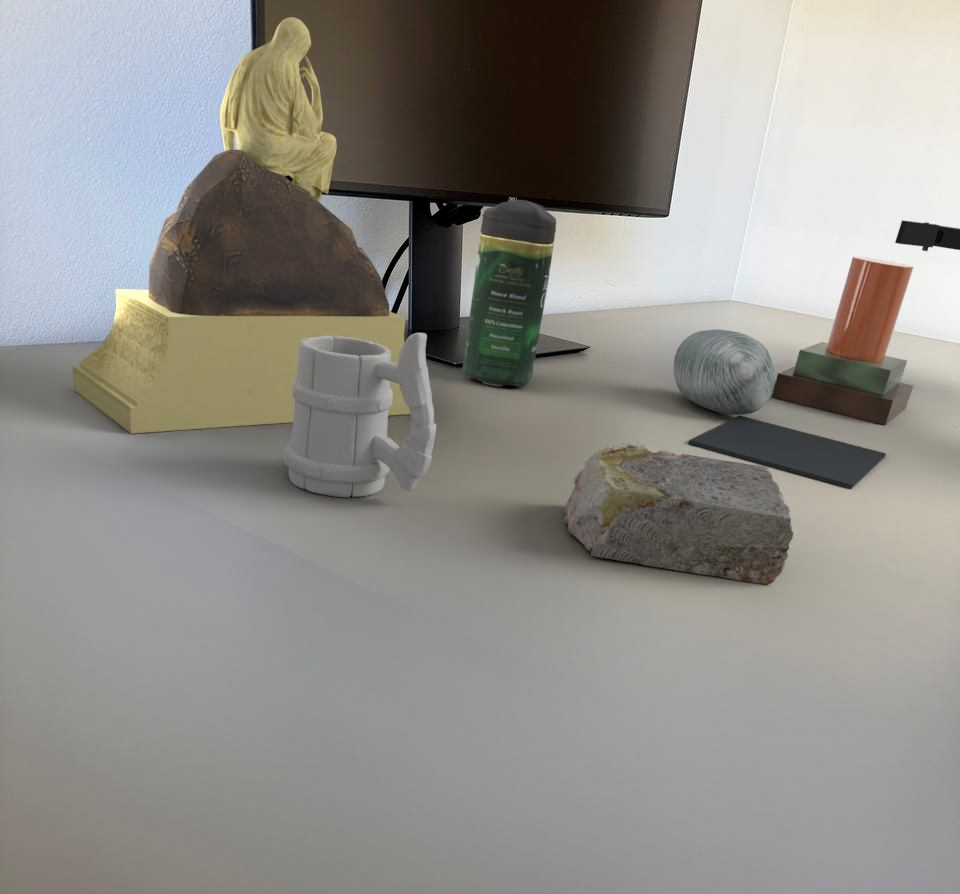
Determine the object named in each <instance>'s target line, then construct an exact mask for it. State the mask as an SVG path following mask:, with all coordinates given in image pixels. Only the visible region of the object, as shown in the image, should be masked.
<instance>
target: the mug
mask: <svg viewBox="0 0 960 894" xmlns="http://www.w3.org/2000/svg"><path fill="white" fill-rule="evenodd" d="M427 338H428V335H427V333H425V332H415V333H412V334H410V335H409V336H408V337H407V338H406V340H405V341H404V342H405V343H404V344H403V346H402V348H401V350H400V353H399V357H398V365H397V364H395V363H392V362H391V351H390V350H389V349H388V348H386V347H385V346H383V345H380V344H377V343H373V342H370V341H365V340H361V339H356V338H350V337H342V336H334V337H333V338H332V337H331V336H321V337H312V338H304V339H303V340H301V341H300V347H299V358H298V370H297V378H296V379H295V380H294V381H293V385H292V396H293V397H294V398H295V405H294V416H293V422H292V428H291V440H290V442H289V443H288V444H287V445H286V447H285V453H284V461H285V464H286V466H288V477H289V480H290V481H291V482H290V483H292V484H293V485H294V486H296V487H298V488H299V489H302V490H306V491H307V492H311V493H315V494H318V495H322V496H323V495H324V496H330V497H338V498H350V497H351V496H352V498H356V497H366V496H372V495H375V494H378V493H379V492H380V491H381V490H383V488H384V486H385V479H386V476H387V475H388V474H389V472H390V471H391V472H392V473H393V475H394V476H395V478H396V480H397V482H398V483H399V485H400V487H401V489H402V490H404V491H406V492H410V491H412V490H414V489H415V488H416V487H417V486H418V483H419V481H420V480H421V478H422V476H425V475H426V474H427V473H428V471H429V468H430V466H431V463H432V460H433V456H432V454H433V448H434V445H435V444H434V443H435V439H436V433H437V423H436V422H435V409H434V404H433V400H432V399H433V394H432V390H431V389H432V388H431V383H430V378H429V377H430V376H429V368H428V366H427V356H426V355H427V353H426V347H427V340H428V339H427ZM390 381H392V382H395V383H398V384H400V386H399V388H400V390H401V392H402V395H403V398H404V401H405V403H406V405H407V406H408V407H409V411H410V414H409V415H410V418H411V420H410V421H409V431H408V439H407V440H405V441H404V443H403V444H402V445H401V446H400V445H398V444H397V443H396V442H395V441H394V440H393V439H392V438H390V437H389V436H388V426H389V425H388V424H389V420H388V419H389V416H388V409H389V408H390V406H391V405H392V398H393V392H392V390H391V388H390Z"/></svg>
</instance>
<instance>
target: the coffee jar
mask: <svg viewBox="0 0 960 894" xmlns="http://www.w3.org/2000/svg"><path fill="white" fill-rule="evenodd" d="M481 216H482V221H481V226H480V234H479V241H478V247H477V248H478V249H477V257H476V265H475V273H474V279H473V280H474V281H473V288H472V295H471V304H470V311H469V312H470V313H469V318H468V319H469V320H468V326H467V333H466V340H465V346H464V354H463V363H462V373H463V375H464V376H465V377H466V378H468V379H473V380H476V381H480V382H482V384H484V385H489V386H493V387H503V386H514V387H516V388H517V387H524V386H525V385H527V384H528V383H529V382H530V381H531V379H532V377H533V374H534V373H533V372H534V367H535V363H536V362H535V361H536V356H537V349H538V343H539V339H540V338H539V337H540V331H541V326H542V320H543V314H544V309H545V303H546V298H547V291H548V288H549V287H548V285H549V281H550V271H551V266H552V259H553V258H552V257H553V252H554V245H555V243H554V242H555V238H556V231H557V219H556V217H555V216H553V215H552V214H551V213H550V212H549V211H547V210H546V209H545V207H544V206H543V205H541V204H538V203H535V202H532V201H530V200H524V199H513V200H507V201H504V202H500V203H499V204H497V205H494V206H491V207H488V208H486V209H485V210H484V211H483V214H481Z"/></svg>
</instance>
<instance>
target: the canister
mask: <svg viewBox="0 0 960 894" xmlns="http://www.w3.org/2000/svg"><path fill="white" fill-rule="evenodd" d="M913 270H914V266H912V265H908V264H905V263H901V262H896V261H891V260H890V261H889V260H884V259H878V258H870V257H865V256H852V259H851V262H850V266H849V268H848V272H847V276H846V279H845V283H844V286H843V289H842V293H841V297H840V300H839V303H838V307H837V310H836V314H835V317H834V321H833V323H832V326H831V331H830V334H829V338H828V341H827V343H828V344H827V348H826V351H828V352H830V353H832V354H835V355H838V356H842V357H846V358H850V359H855V360H861V361H868V362H882V361H884V358H885V356H887V355H886V354H887V351H888V348H889V346H890V343H891V339H892V336H893V333H894V330H895V326H896V323H897V320H898V318H899V314H900V310H901V307H902V306H903V305H902V304H903V301H904V298H905V295H906V292H907V289H908V286H909V282H910V279H911V277H912V273H913Z"/></svg>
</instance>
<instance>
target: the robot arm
mask: <svg viewBox="0 0 960 894" xmlns="http://www.w3.org/2000/svg"><path fill="white" fill-rule="evenodd" d="M894 243H895V244H899V245H907V246H916V247H922V248H921V251H924V252H928V250H929V248H934V247H937V248H942V249H943V248H944V249H950V250H956V251H960V228H959V227H953V226H945V225H940V224H936V223H930V222H927V221H926V222H919V221H910V220H901V221H900V225H899V229H898V231H897V235H896V239H895V241H894Z"/></svg>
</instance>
